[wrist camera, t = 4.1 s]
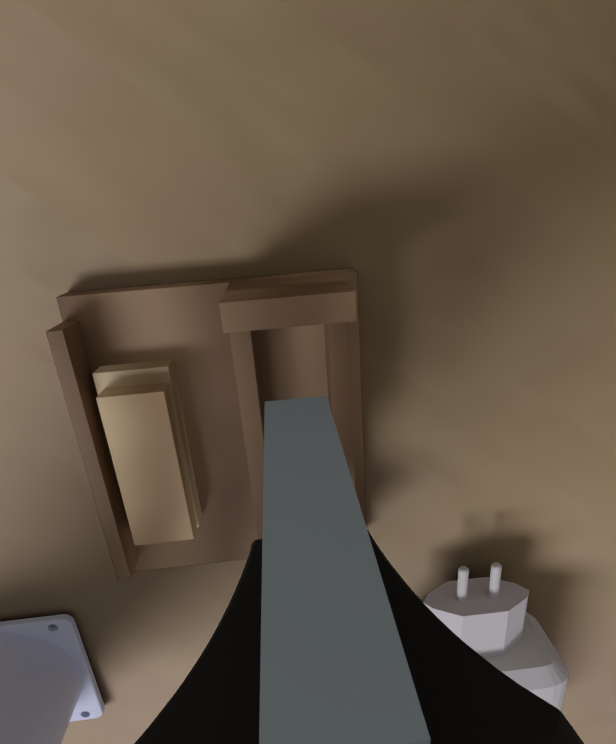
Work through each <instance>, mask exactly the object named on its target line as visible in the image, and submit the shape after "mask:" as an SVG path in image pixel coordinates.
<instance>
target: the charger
mask: <svg viewBox="0 0 616 744" xmlns="http://www.w3.org/2000/svg"><path fill="white" fill-rule="evenodd" d="M501 570H502V565H501V564H500V563H497V562H494V563H492V564H491V572H490V577H481V578H472V579H468V576H469V568H467V567H466V566H461V567H459V569H458V580H454V581H447V582H446V583H444V584H442V585H441V586H439V587H438V588H436V589H434V590H433V591H431V592H430V593H428V595H427V597H426V599H425V600H424V602H423V603H424V604H425V605H426V606H427V607H428V608H429V609H430V610H431V611H432V612H433V614H434V615H435V616H436V617H437V618H439V619H440V620H441V621H442V622H443V623H444V624H445V625H446V626H447V627H448V628H449V629H450V630H451V631H452V632H453V633H455V634H456V635H457V636H458V637H459V638H460V639H461V640H462V641H463V642H465V643H466V644H467V645H468V646H469V647H471V648H472V649H473V650H474V651H476V652H477V653H478V654H479V655H481V656H482V657H483V658H485V659H486V660H487V661H488V662H490V663H491V664H492V665H493V666H495V667H496V668H497V669H498V670H500V671H501V672H503V673H504V674H505V675H507V676H508V677H510V678H511V679H512V680H514V681H515V682H517V683H518V684H519V685H521V686H522V687H524V688H526V689H527V690H529V691H530V692H532V693H534V694H535V695H537V696H538V697H540V698H542V699H543V700H545V701H546V702H548V703H550V704H551V705H553V706H554V707H556V708H557V709H559V710H560V711H561V710H562V705H563V700H564V695H565V691H566V686H567V681H568V676H569V671H568V668H567V666H566V665H565V663H564V662H563V660H562V659H561V657H560V655H559V654H558V652H557V651H556V649H555V648H554V646H553V645H552V643H551V641H550V640H549V638H548V637H547V635H546V634H545V632H544V630H543V629H542V627H541V626H540V624H539V623H538V621H537V619H536V618H535V617H533V616H532V615H531V614H529V613H528V612H526V609H527V602H528V595H529V590H528V589H526V588H524V587H522V586H520V585H518V584H516V583H512V582H508V581H503V580H500V579H501Z"/></svg>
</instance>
